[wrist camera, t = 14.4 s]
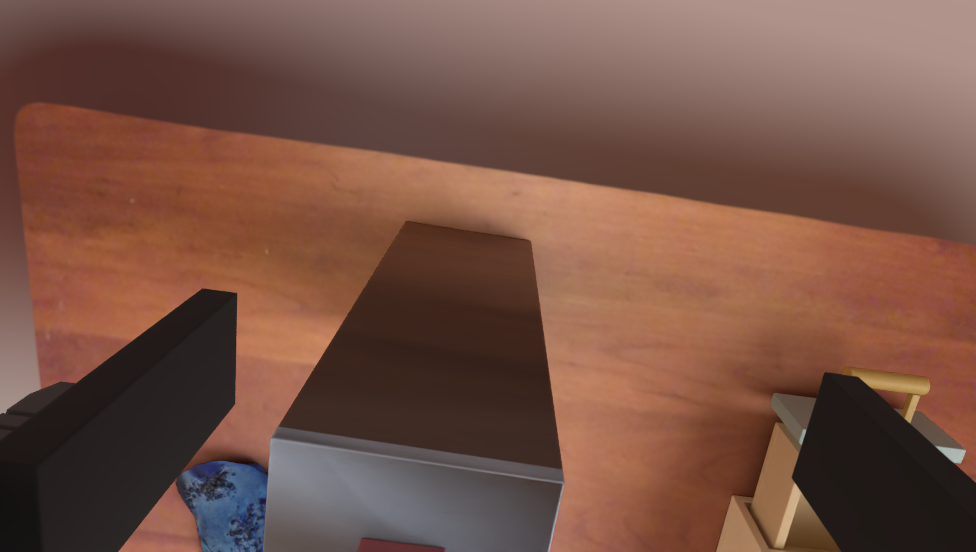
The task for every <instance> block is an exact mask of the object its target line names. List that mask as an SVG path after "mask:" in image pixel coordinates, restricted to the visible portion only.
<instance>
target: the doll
mask: <svg viewBox="0 0 976 552" xmlns="http://www.w3.org/2000/svg"><path fill="white" fill-rule="evenodd" d="M357 552H446V550H445V549H444V548H438V547H430V546H422V545H414V544H406V543H398V542H390V541H382V540H374V539H366V538H362V539H361V540H360V543H359V547H358V550H357Z"/></svg>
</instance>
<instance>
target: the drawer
mask: <svg viewBox="0 0 976 552" xmlns="http://www.w3.org/2000/svg"><path fill="white" fill-rule="evenodd" d="M842 375H849V376H857V377H859V378H860V379H862V380H863V381H864V382H865V383H866V384H867V385H868V386H869V387H870V388H873V389H881V390H888V391H896V392H904V393H908V395H907V398H906V401H905V404H904V406H903V409H896V408H894V409H895V410H896V411H897V412H898V413H899V414H900V415H901V416H902V417H903V418H905V419H906V420H907V421H908V422H909V423H910V424H911V425H912V426H913V427H915V428H916V429H917V430H918V431H919V432H920V433H921V434H922V435H923V436H924V437H926V438H927V439H928V440H929V441H930V442H931V443H932V444H933V445H934V446H935V447H937V448H938V449H939V450H940V451H941V452H942V453H943V454H944V455H945V456H947V457H948V458H949V459H950V460H951V461H952V462H953V463H961V462H962V459H963V457H964V454H965V451H966V450H965V449H964V448H963V447H962V446H961V445H960V444H958V443H957V442H956V441H955V440H954V439H952V438H951V437H950V436H949V435H948V434H947V433H945V432H944V431H943V430H942V429H941V428H939V427H938V426H937V425H936V424H935V423H934V422H932V421H931V420H930V419H929V418H928V417H926V416H925V415H924V414H923V413H922V412H919V411H915V409H916V406H917V403H918V400H919V398H920V395H925V394H927V393H928V391H929V389H930V382H929V380H928V378H926V377H924V376H917V375H909V374H901V373H894V372H886V371H878V370H871V369H863V368H855V367H845V368H844V369H843V371H842ZM815 401H816V398H811V397H803V396H795V395H787V394H780V393H773V397H772V400H771V404H770V406H771V407H772V408H773V410H774V411H775V412H776V414H777V415H778V416H779V418H780V419H781V420H782V421H783V423H777V422H776V423H775V426H774V430H773V433H772V437H771V440H770V443H769V447H768V450H767V454H766V457H765V460H764V464H763V467H762V471H761V474H760V477H759V481H758V484H757V488H756V491H755V494H754V498H753V501H752V505H751V508H750V511H749V513H750V514H751V516H752V518H753V520H754V522H755V524H756V526H757V527H758V529H759V531H760V533H761V535H762V537H763V539H764V540H765V542H766V544H767V546H768V548H769V549H774V550H782V551H790V552H841V550H840V549H839V547H838V546H837V545H836V543H835V542H834V540H833V539H832V537H831V536H830V534H829V533H828V531H827V530H826V528H825V527H824V525H823V524H822V522H821V521H820V519H819V518H818V516H817V515H816V513H815V512H814V511H813V509H812V508H811V506H810V505H809V503H808V502H807V500H806V499H805V497H804V496H803V494H802V493H801V491H800V490H799V488H798V487H797V485H796V484H795V482H794V481H793V479H792V478H791V477H792V474H793V471H794V468H795V464H796V461H797V458H798V455H799V452H800V449H801V446H802V442H803V439H804V436H805V433H806V430H807V427H808V423H809V420H810V417H811V414H812V411H813V408H814V404H815Z"/></svg>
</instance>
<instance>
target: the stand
mask: <svg viewBox="0 0 976 552" xmlns="http://www.w3.org/2000/svg"><path fill="white" fill-rule="evenodd" d="M564 483H565V482H564V475H563V469H562V462H561V454H560V447H559V440H558V433H557V426H556V418H555V411H554V404H553V397H552V390H551V382H550V375H549V368H548V361H547V353H546V346H545V339H544V332H543V325H542V317H541V310H540V303H539V296H538V289H537V281H536V274H535V267H534V260H533V253H532V245H531V241H528V240H521V239H515V238H509V237H502V236H496V235H490V234H483V233H477V232H471V231H464V230H458V229H452V228H445V227H439V226H433V225H426V224H420V223H414V222H407V221H406V222H405V223H404V225H403V227H402V228H401V230H400V231H399V233H398V235H397V236H396V238H395V239H394V241H393V243H392V244H391V246H390V247H389V249H388V251H387V252H386V254H385V255H384V257H383V259H382V260H381V262H380V264H379V265H378V267H377V268H376V270H375V272H374V273H373V275H372V276H371V278H370V280H369V281H368V283H367V284H366V286H365V288H364V289H363V291H362V293H361V294H360V296H359V297H358V299H357V301H356V302H355V304H354V305H353V307H352V309H351V310H350V312H349V313H348V315H347V317H346V318H345V320H344V322H343V323H342V325H341V326H340V328H339V330H338V331H337V333H336V334H335V336H334V338H333V339H332V341H331V342H330V344H329V346H328V347H327V349H326V350H325V352H324V354H323V355H322V357H321V359H320V360H319V362H318V363H317V365H316V367H315V368H314V370H313V371H312V373H311V375H310V376H309V378H308V379H307V381H306V383H305V384H304V386H303V388H302V389H301V391H300V392H299V394H298V396H297V397H296V399H295V400H294V402H293V404H292V405H291V407H290V408H289V410H288V412H287V413H286V415H285V417H284V418H283V420H282V421H281V423H280V425H279V426H278V427H277V429H276V430H275V432H274V434H273V435H272V437H271V439H270V453H269V469H268V484H267V499H266V515H265V530H264V545H263V552H357V550H358V547H359V543H360V540H361V539H362V538H366V539H374V540H382V541H390V542H398V543H406V544H414V545H422V546H430V547H438V548H444V549H445V550H446V552H549V551H550V546H551V542H552V537H553V533H554V528H555V524H556V519H557V515H558V510H559V506H560V501H561V497H562V492H563V488H564Z"/></svg>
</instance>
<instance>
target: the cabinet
mask: <svg viewBox="0 0 976 552" xmlns="http://www.w3.org/2000/svg"><path fill="white" fill-rule="evenodd" d="M752 501H753V497H745V496H737V495H732V497H731V501H730V504H729V508H728V511H727V515H726V519H725V522H724V526H723V529H722V533H721V536H720V540H719V543H718V547H717V550H716V552H790V551H782V550H774V549H769V548H768V546H767V544H766V542H765V540H764V539H763V537H762V535H761V533H760V531H759V529H758V527H757V526H756V524H755V522H754V520H753V518H752V516H751V514H750V513H749V511H750V508H751V505H752Z"/></svg>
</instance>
